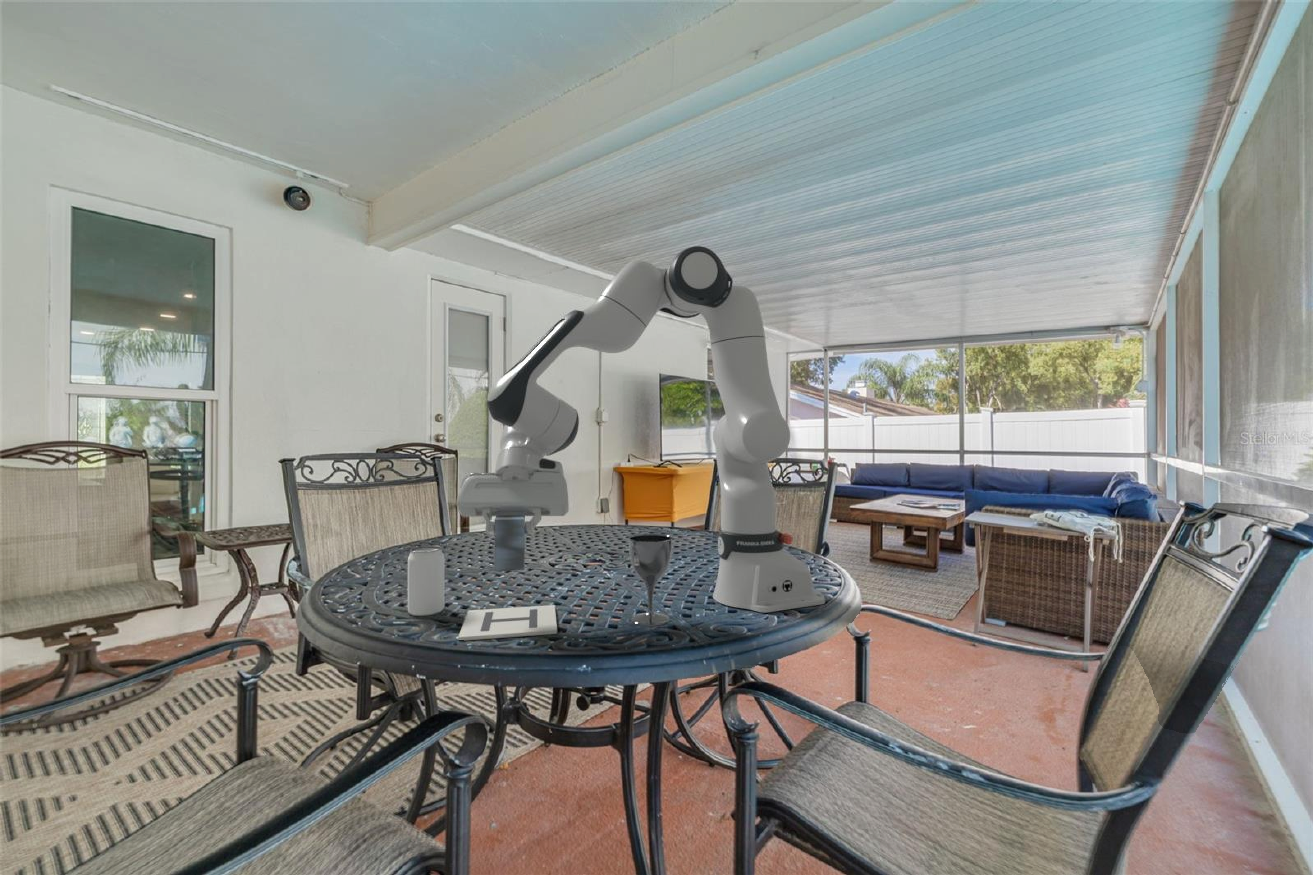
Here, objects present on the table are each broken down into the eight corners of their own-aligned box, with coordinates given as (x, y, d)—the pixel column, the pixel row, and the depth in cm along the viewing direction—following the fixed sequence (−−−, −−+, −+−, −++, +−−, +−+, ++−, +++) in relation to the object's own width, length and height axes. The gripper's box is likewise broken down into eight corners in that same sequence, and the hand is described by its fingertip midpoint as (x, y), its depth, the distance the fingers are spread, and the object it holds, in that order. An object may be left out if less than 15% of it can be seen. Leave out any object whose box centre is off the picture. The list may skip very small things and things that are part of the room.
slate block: (524, 563, 103) (524, 514, 103) (523, 570, 98) (524, 519, 98) (496, 564, 102) (496, 515, 102) (494, 571, 97) (494, 519, 97)
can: (431, 618, 103) (431, 553, 103) (400, 615, 104) (400, 551, 104) (451, 607, 109) (451, 546, 109) (421, 605, 110) (421, 544, 110)
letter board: (554, 608, 109) (554, 604, 109) (557, 633, 95) (557, 629, 95) (468, 613, 105) (468, 610, 105) (458, 640, 92) (458, 637, 92)
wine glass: (621, 623, 100) (621, 539, 100) (639, 610, 108) (639, 532, 107) (663, 629, 97) (663, 543, 97) (678, 615, 105) (678, 535, 104)
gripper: (460, 462, 106) (445, 522, 96) (569, 462, 108) (565, 521, 98) (466, 484, 110) (452, 543, 101) (571, 483, 112) (567, 541, 102)
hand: (509, 532), depth 99 cm, fingers closed on slate block, 5 cm apart
